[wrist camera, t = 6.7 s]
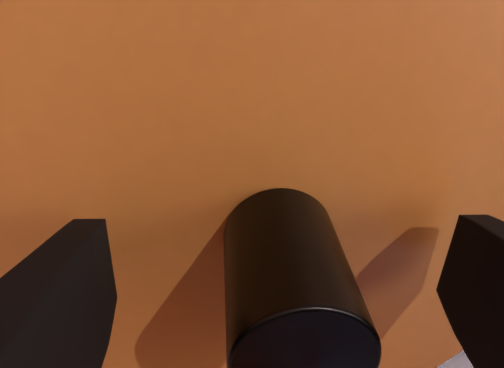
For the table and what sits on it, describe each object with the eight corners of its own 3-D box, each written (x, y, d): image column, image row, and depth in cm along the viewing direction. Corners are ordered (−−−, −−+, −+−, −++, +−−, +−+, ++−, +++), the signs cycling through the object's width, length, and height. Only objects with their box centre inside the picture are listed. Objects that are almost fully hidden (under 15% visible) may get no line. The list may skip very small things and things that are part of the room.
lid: (463, 379, 14) (558, 547, 10) (40, 397, 13) (-35, 592, 9) (659, -111, 8) (1114, -168, 4) (-128, -152, 7) (-610, -287, 3)
